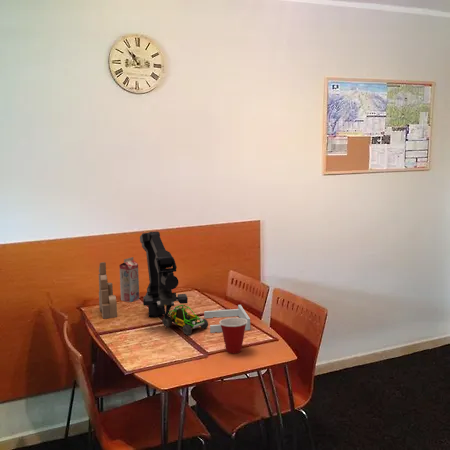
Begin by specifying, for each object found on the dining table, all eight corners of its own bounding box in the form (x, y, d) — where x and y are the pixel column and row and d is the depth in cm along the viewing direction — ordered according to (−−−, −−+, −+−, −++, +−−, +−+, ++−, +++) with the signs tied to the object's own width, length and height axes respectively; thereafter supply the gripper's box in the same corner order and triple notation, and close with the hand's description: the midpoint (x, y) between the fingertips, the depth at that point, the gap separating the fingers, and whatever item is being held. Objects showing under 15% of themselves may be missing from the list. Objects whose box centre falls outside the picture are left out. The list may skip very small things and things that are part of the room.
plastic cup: (239, 342, 192) (239, 314, 190) (252, 352, 183) (252, 322, 181) (214, 347, 187) (214, 318, 185) (227, 358, 178) (227, 327, 176)
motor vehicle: (189, 336, 199) (189, 311, 197) (159, 325, 212) (158, 302, 210) (208, 328, 208) (208, 305, 206) (178, 318, 220) (177, 296, 219)
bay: (210, 332, 203) (210, 321, 202) (204, 317, 221) (204, 307, 221) (250, 330, 206) (250, 318, 205) (240, 315, 224) (240, 304, 224)
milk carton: (139, 298, 250) (137, 257, 246) (130, 302, 244) (128, 260, 241) (129, 296, 253) (128, 256, 250) (120, 300, 248) (119, 258, 244)
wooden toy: (118, 317, 223) (115, 264, 219) (103, 319, 220) (100, 266, 216) (112, 307, 237) (110, 257, 233) (99, 308, 234) (96, 258, 231)
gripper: (142, 289, 196) (144, 326, 198) (188, 287, 199) (189, 323, 201) (142, 282, 207) (144, 317, 209) (186, 280, 210) (186, 315, 212)
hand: (165, 318), depth 208 cm, fingers closed
